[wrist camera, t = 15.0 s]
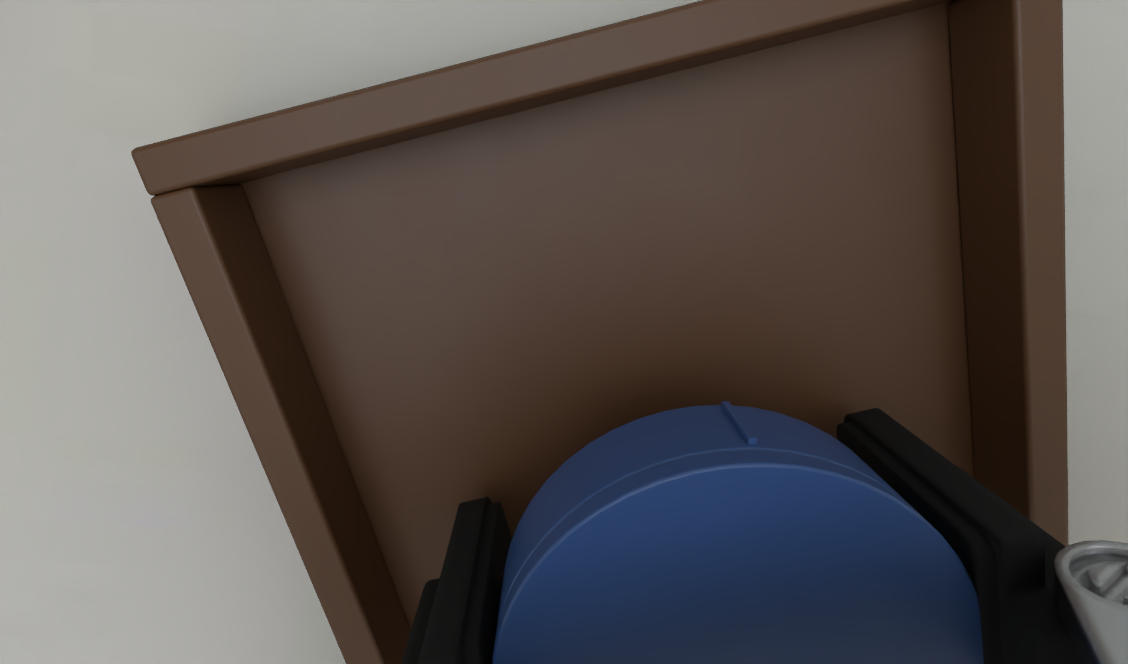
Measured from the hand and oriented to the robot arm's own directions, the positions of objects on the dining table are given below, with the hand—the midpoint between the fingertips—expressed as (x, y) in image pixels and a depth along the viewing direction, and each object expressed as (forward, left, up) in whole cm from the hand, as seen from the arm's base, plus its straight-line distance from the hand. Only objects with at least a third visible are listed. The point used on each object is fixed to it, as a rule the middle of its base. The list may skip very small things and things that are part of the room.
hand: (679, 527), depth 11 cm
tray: (0, 0, -1) cm, 1 cm away
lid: (0, 0, +3) cm, 3 cm away
